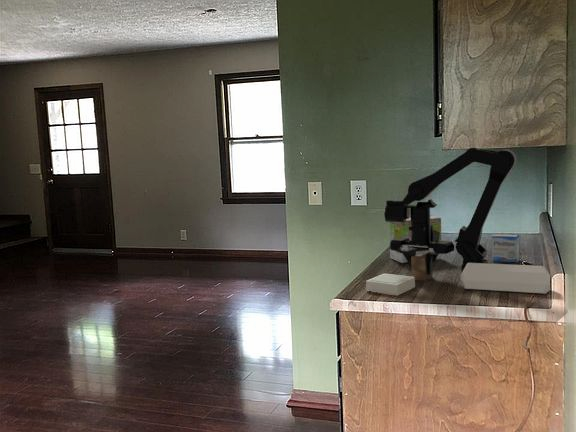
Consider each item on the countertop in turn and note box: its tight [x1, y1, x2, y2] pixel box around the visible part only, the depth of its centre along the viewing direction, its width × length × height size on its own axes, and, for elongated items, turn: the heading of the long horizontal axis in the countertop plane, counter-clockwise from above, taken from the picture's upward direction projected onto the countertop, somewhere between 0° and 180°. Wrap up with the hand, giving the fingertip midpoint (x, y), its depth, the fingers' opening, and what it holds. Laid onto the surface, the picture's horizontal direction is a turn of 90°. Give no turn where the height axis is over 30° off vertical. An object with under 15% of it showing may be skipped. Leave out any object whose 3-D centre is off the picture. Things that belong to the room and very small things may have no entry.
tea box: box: [389, 214, 442, 264], centre depth 207 cm, size 15×10×15 cm
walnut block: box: [410, 254, 433, 282], centre depth 180 cm, size 4×4×7 cm
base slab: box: [365, 273, 416, 297], centre depth 170 cm, size 10×10×3 cm
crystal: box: [459, 263, 551, 295], centre depth 163 cm, size 7×7×24 cm
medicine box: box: [491, 233, 520, 264], centre depth 196 cm, size 8×4×9 cm, turn 62°
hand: (422, 273), depth 180 cm, fingers closed on walnut block, 4 cm apart
